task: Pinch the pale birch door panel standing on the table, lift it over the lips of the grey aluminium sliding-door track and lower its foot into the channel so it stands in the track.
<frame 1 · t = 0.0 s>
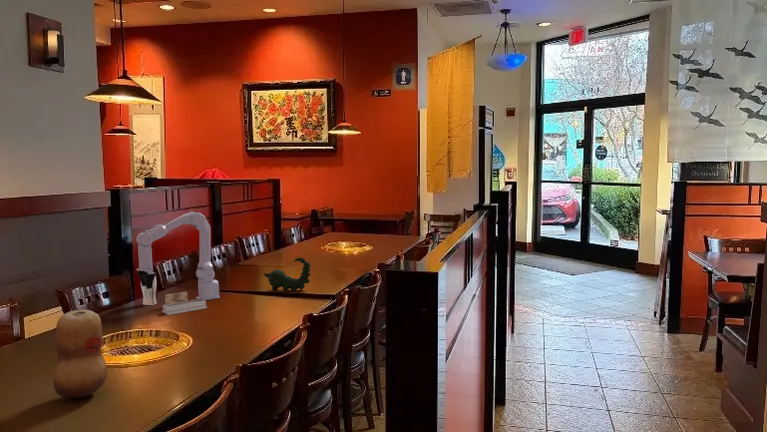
hand: (147, 287, 255), 10 cm above the table, fingers open, 7 cm apart
door track: (184, 310, 252), on the table
butternut squash: (82, 396, 158), on the table
beer glass: (149, 304, 264), on the table, touching gripper
toy figurine: (287, 290, 289), on the table
door panel: (176, 305, 261), on the table
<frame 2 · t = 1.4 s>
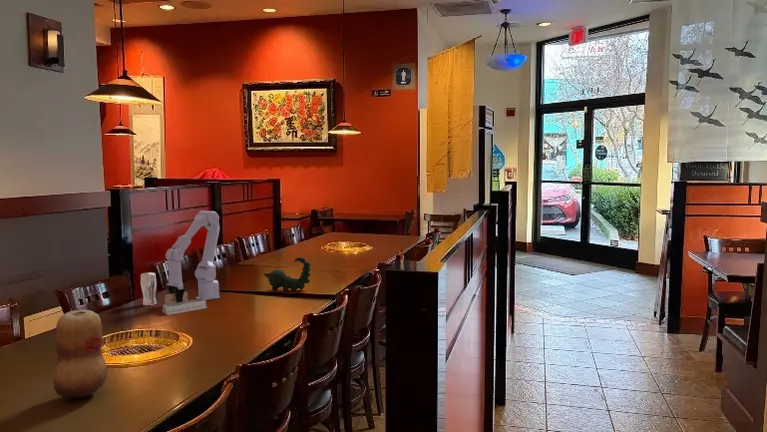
hand: (176, 301, 260), 2 cm above the table, fingers open, 7 cm apart
beer glass: (149, 304, 264), on the table
everything else where it was.
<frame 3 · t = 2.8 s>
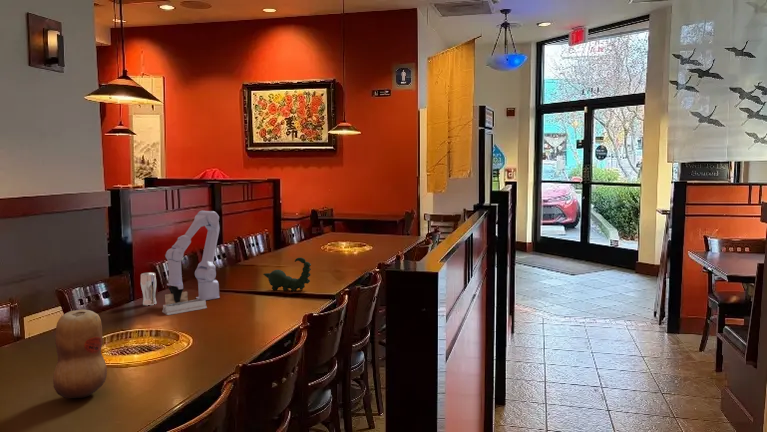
hand: (176, 301, 260), 2 cm above the table, fingers closed on door panel, 2 cm apart
door panel: (176, 305, 260), on the table, touching gripper
everything else where it was.
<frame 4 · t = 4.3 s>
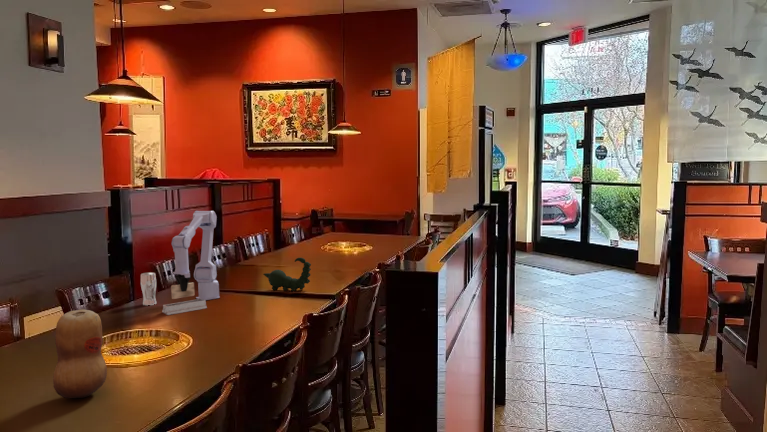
hand: (183, 290, 252), 9 cm above the table, fingers closed on door panel
door panel: (183, 297, 252), point 6 cm above the table, touching gripper
everything else where it was.
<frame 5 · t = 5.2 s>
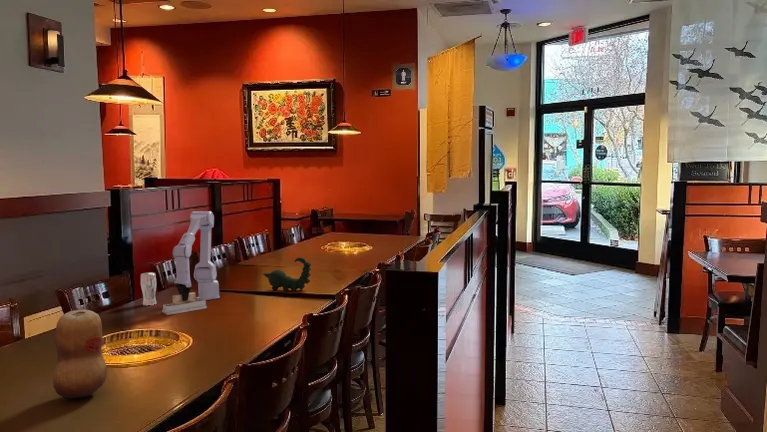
hand: (184, 300, 252), 5 cm above the table, fingers closed on door panel, 2 cm apart
door panel: (184, 307, 252), point 1 cm above the table, touching gripper
everything else where it was.
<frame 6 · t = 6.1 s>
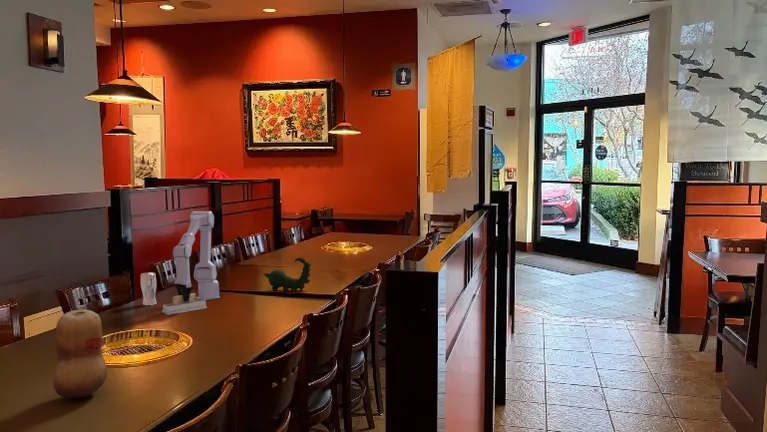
hand: (184, 300, 252), 5 cm above the table, fingers open, 4 cm apart
door panel: (184, 307, 252), point 1 cm above the table, touching door track
everything else where it was.
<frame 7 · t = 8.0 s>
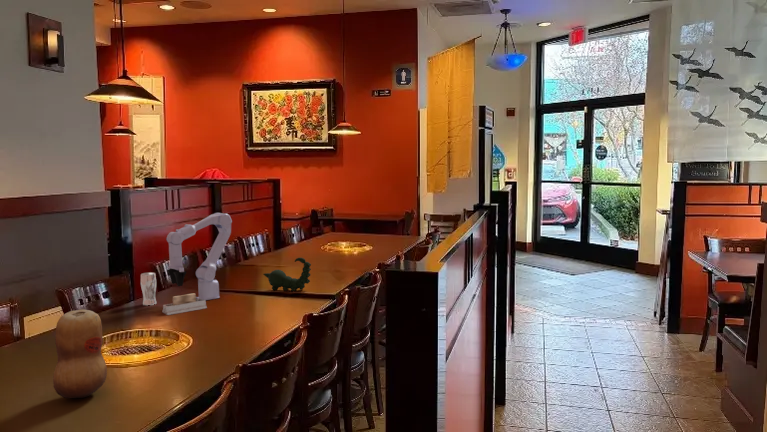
hand: (177, 284, 263), 9 cm above the table, fingers open, 7 cm apart
nothing on the table moved.
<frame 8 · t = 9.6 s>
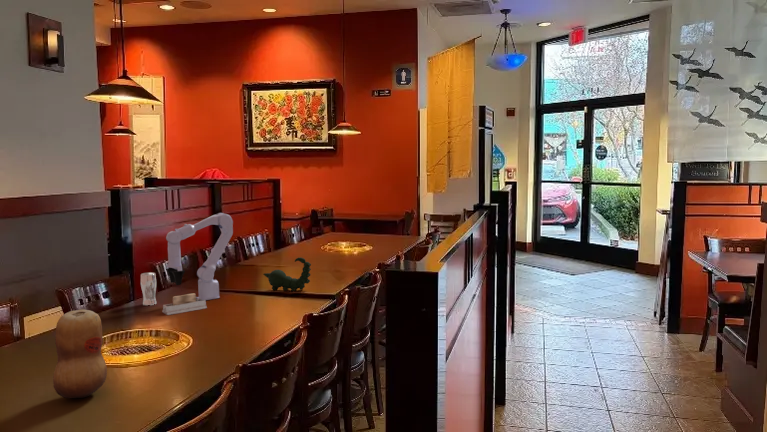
hand: (175, 283, 266), 9 cm above the table, fingers open, 7 cm apart
nothing on the table moved.
at the end: door panel inside the target area on the door track (0.0 cm from its centre), point 1.0 cm above the door track's base; door panel tilted 0°; the gripper is holding nothing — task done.
